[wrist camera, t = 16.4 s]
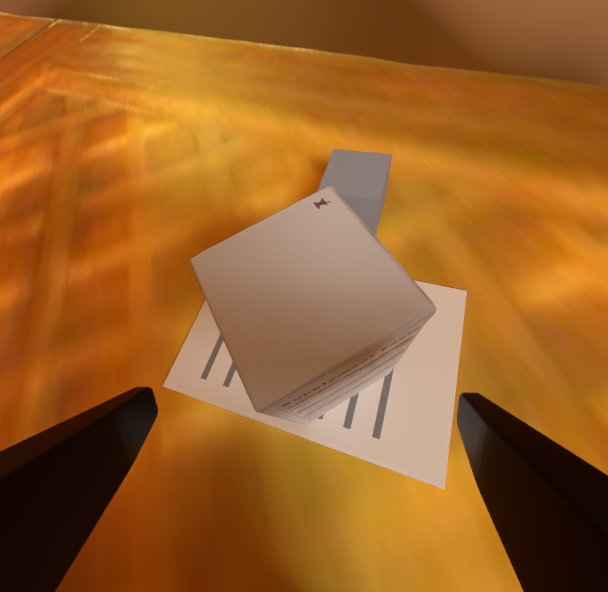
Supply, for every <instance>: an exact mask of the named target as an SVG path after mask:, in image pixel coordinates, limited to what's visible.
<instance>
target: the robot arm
mask: <svg viewBox="0 0 608 592" xmlns="http://www.w3.org/2000/svg"><path fill="white" fill-rule="evenodd" d="M157 414H158V407H157V403H156V400H155V396H154V393H153V390H152V389H151V388H150V387H136V388H133V389H131V390H129V391H127V392H125V393H123V394H121V395H119V396H116V397H114V398H112V399H110V400H108V401H106V402H104V403H102V404H100V405H97V406H95V407H93V408H91V409H89V410H87V411H85V412H83V413H81V414H78V415H76V416H74V417H72V418H70V419H68V420H66V421H64V422H62V423H59V424H57V425H55V426H53V427H51V428H49V429H47V430H45V431H43V432H40V433H38V434H36V435H34V436H32V437H30V438H28V439H26V440H24V441H21V442H19V443H17V444H15V445H13V446H11V447H9V448H7V449H5V450H2V451H0V592H55V591H56V589H57V588H58V586H59V584H60V583H61V581H62V579H63V578H64V576H65V574H66V573H67V571H68V570H69V568H70V566H71V565H72V563H73V561H74V560H75V558H76V557H77V555H78V553H79V552H80V550H81V548H82V547H83V545H84V543H85V542H86V540H87V539H88V537H89V535H90V534H91V532H92V530H93V529H94V527H95V526H96V524H97V522H98V521H99V519H100V517H101V516H102V514H103V513H104V511H105V509H106V508H107V506H108V504H109V503H110V501H111V499H112V498H113V496H114V495H115V493H116V491H117V490H118V488H119V486H120V485H121V483H122V482H123V480H124V478H125V477H126V475H127V473H128V472H129V470H130V468H131V467H132V465H133V463H134V461H135V459H136V457H137V455H138V453H139V451H140V449H141V447H142V445H143V443H144V441H145V439H146V437H147V435H148V433H149V431H150V429H151V427H152V425H153V423H154V421H155V419H156V417H157ZM457 424H458V428H459V431H460V435H461V438H462V441H463V444H464V447H465V450H466V453H467V456H468V459H469V462H470V466H471V469H472V472H473V475H474V478H475V481H476V484H477V486H478V489H479V491H480V493H481V496H482V498H483V500H484V503H485V505H486V507H487V510H488V512H489V514H490V516H491V519H492V521H493V523H494V525H495V528H496V530H497V532H498V535H499V537H500V539H501V541H502V544H503V546H504V548H505V550H506V553H507V555H508V557H509V560H510V562H511V564H512V566H513V569H514V571H515V573H516V575H517V578H518V580H519V582H520V584H521V587H522V589H523V591H524V592H608V475H606V474H605V473H603V472H602V471H600V470H598V469H597V468H595V467H594V466H592V465H591V464H589V463H587V462H586V461H584V460H583V459H581V458H579V457H578V456H576V455H575V454H573V453H572V452H570V451H568V450H567V449H565V448H564V447H562V446H561V445H559V444H557V443H556V442H554V441H553V440H551V439H550V438H548V437H546V436H545V435H543V434H542V433H540V432H539V431H537V430H535V429H534V428H532V427H531V426H529V425H528V424H526V423H524V422H523V421H521V420H520V419H518V418H517V417H515V416H513V415H512V414H510V413H509V412H507V411H506V410H504V409H502V408H501V407H499V406H498V405H496V404H495V403H493V402H491V401H490V400H488V399H487V398H485V397H484V396H482V395H480V394H479V393H461V394H460V397H459V404H458V412H457Z"/></svg>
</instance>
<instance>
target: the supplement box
mask: <svg viewBox="0 0 608 592" xmlns="http://www.w3.org/2000/svg"><path fill="white" fill-rule="evenodd" d="M190 262H191V265H192V268H193V270H194V273H195V275H196V278H197V280H198V283H199V285H200V287H201V290H202V292H203V294H204V297H205V299H206V301H207V303H208V306H209V308H210V310H211V313H212V315H213V317H214V320H215V322H216V324H217V327H218V329H219V331H220V333H221V336H222V338H223V340H224V342H225V345H226V347H227V349H228V352H229V354H230V356H231V358H232V361H233V363H234V365H235V367H236V370H237V372H238V374H239V377H240V379H241V381H242V383H243V385H244V388H245V390H246V392H247V394H248V396H249V398H250V401H251V403H252V405H253V407H254V409H255V411H256V412H259V413H263V414H266V415H270V416H274V417H277V418H281V419H284V420H289V421H292V422H296V423H300V424H304V425H308V424H309V423H311V422H312V421H314V420H315V419H317V418H318V417H320V416H322V415H323V414H325V413H327V412H328V411H330V410H331V409H333V408H335V407H336V406H338V405H340V404H341V403H343V402H345V401H346V400H348V399H349V398H351V397H353V396H354V395H356V394H358V393H359V392H361V391H362V390H364V389H366V388H367V387H369V386H370V385H372V384H374V383H375V382H377V381H378V380H380V379H382V378H383V377H385V376H386V375H388V374H389V373H390V372H391V371H392V369H393V368H394V367H395V366H396V364H397V363H398V362H399V360H400V359H401V357H402V356H403V354H404V353H405V352H406V350H407V349H408V347H409V346H410V344H411V343H412V342H413V340H414V339H415V337H416V336H417V334H418V333H419V332H420V330H421V329H422V328H423V326H424V325H425V324H426V322H427V321H428V320H429V319H430V318H431V317H432V316H433V315H434V314H435V312H436V307H435V305H434V303H433V302H432V300H431V299H430V298H429V297H428V296H427V295H426V294H425V292H424V291H423V290H422V289H421V288H420V287H419V285H418V284H417V283H416V282H415V281H414V280H413V279H412V278H411V277H410V276H409V274H408V273H407V272H406V271H405V270H404V269H403V267H402V266H401V265H400V264H399V263H398V262H397V261H396V259H395V258H394V257H393V256H392V255H391V254H390V253H389V251H388V250H387V249H386V248H385V247H384V246H383V244H382V243H381V242H380V241H379V239H378V238H377V237H376V236H375V235H374V233H373V232H372V231H371V230H370V229H369V228H368V227H367V226H366V225H365V224H364V223H363V222H362V220H361V219H360V218H359V217H358V216H357V215H356V214H355V213H354V211H353V210H352V209H351V208H350V207H349V206H348V204H347V203H346V202H345V201H344V200H343V199H342V198H341V196H340V195H339V194H338V193H337V192H336V190H335V189H334V188H333V187H332V186H328V187H326V188H324V189H322V190H320V191H318V192H316V193H314V194H311V195H309V196H308V197H306V198H304V199H302V200H300V201H298V202H296V203H294V204H292V205H290V206H288V207H286V208H284V209H282V210H281V211H279V212H277V213H275V214H273V215H271V216H269V217H267V218H265V219H263V220H262V221H260V222H258V223H256V224H254V225H252V226H250V227H248V228H246V229H244V230H242V231H240V232H238V233H237V234H235V235H233V236H231V237H229V238H227V239H225V240H223V241H221V242H219V243H218V244H216V245H214V246H211V247H210V248H208V249H206V250H204V251H202V252H201V253H199V254H197V255H196V256H194V257H192V258H191V260H190Z"/></svg>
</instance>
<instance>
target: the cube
mask: <svg viewBox="0 0 608 592" xmlns="http://www.w3.org/2000/svg"><path fill="white" fill-rule="evenodd" d="M391 157H392V155H391V154H380V153H370V152H359V151H349V150H338V149H333V152H332V154H331V157H330V159H329V162H328V165H327V167H326V170H325V173H324V175H323V178H322V180H321V183H320V186H319V188H318V191H320V190H322V189H324V188H326V187H328V186H332V187H333V188H334V189H335V190H336V192H337V193H338V194H339V195H340V196H341V198H342V199H343V200H344V201H345V202H346V203H347V204H348V206H349V207H350V208H351V209H352V210H353V211H354V213H355V214H356V215H357V216H358V217H359V218H360V219H361V220H362V222H363V223H364V224H365V225H366V226H367V227H368V228H369V229H370V230H371V231H372V232H373V233H374V235H375V236H376V232H377V228H378V224H379V220H380V216H381V213H382V209H383V205H384V201H385V197H386V190H387V184H388V177H389V170H390V164H391ZM318 191H317V192H318Z"/></svg>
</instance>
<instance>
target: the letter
mask: <svg viewBox="0 0 608 592" xmlns="http://www.w3.org/2000/svg"><path fill="white" fill-rule="evenodd" d="M414 281H415V280H414ZM415 282H416V283H417V284H418V285H419V287H420V288H421V289H422V290H423V291H424V292H425V294H426V295H427V296H428V297H429V298H430V299H431V300H432V302H433V303H434V305H435V307H436V312H435V314H434V315H433V316H432V317H431V318H430V319H429V320H428V321H427V322H426V324H425V325H424V326H423V328H422V329H421V330H420V332H419V333H418V334H417V336H416V337H415V339H414V340H413V342H412V343H411V344H410V346H409V347H408V349H407V350H406V352H405V353H404V354H403V356H402V357H401V359H400V360H399V362H398V363H397V364H396V366H395V367H394V368H393V369H392V371H391V372H390V373H389V374H388V375H386V376H385V377H383V378H382V379H380V380H378V381H377V382H375V383H374V384H372V385H370V386H369V387H367V388H366V389H364V390H362V391H361V392H359V393H358V394H356V395H354V396H353V397H351V398H349V399H348V400H346V401H345V402H343V403H341V404H340V405H338V406H336V407H335V408H333V409H331V410H330V411H328V412H327V413H325V414H323V415H322V416H320V417H318V418H317V419H315V420H314V421H312V422H311V423H309V424H308V425H304V424H300V423H296V422H292V421H289V420H284V419H281V418H277V417H274V416H270V415H266V414H263V413H259V412H256V411H255V409H254V407H253V405H252V403H251V401H250V398H249V396H248V394H247V392H246V390H245V388H244V385H243V383H242V381H241V379H240V377H239V374H238V372H237V370H236V367H235V365H234V363H233V361H232V358H231V356H230V354H229V352H228V349H227V347H226V345H225V342H224V340H223V338H222V336H221V333H220V331H219V329H218V327H217V324H216V322H215V320H214V317H213V315H212V313H211V310H210V308H209V306H208V303H207V301H206V299H205V301H204V303H203V306H202V308H201V310H200V312H199V314H198V316H197V318H196V320H195V322H194V324H193V326H192V328H191V330H190V332H189V334H188V336H187V338H186V340H185V342H184V344H183V346H182V348H181V350H180V352H179V354H178V356H177V358H176V360H175V362H174V364H173V366H172V368H171V370H170V372H169V374H168V376H167V378H166V380H165V382H164V384H163V387H166V388H168V389H171V390H174V391H176V392H179V393H182V394H185V395H187V396H190V397H193V398H196V399H198V400H201V401H204V402H207V403H209V404H212V405H215V406H218V407H220V408H223V409H226V410H228V411H231V412H234V413H237V414H239V415H242V416H245V417H248V418H250V419H253V420H256V421H259V422H261V423H264V424H267V425H269V426H272V427H275V428H278V429H280V430H283V431H286V432H289V433H291V434H294V435H297V436H300V437H302V438H305V439H308V440H311V441H313V442H316V443H319V444H321V445H324V446H327V447H330V448H332V449H335V450H338V451H341V452H343V453H346V454H349V455H352V456H354V457H357V458H360V459H362V460H365V461H368V462H371V463H373V464H376V465H379V466H382V467H384V468H387V469H390V470H393V471H395V472H398V473H401V474H403V475H406V476H409V477H412V478H414V479H417V480H420V481H423V482H425V483H428V484H431V485H434V486H436V487H439V488H442V489H445V480H446V471H447V462H448V454H449V445H450V436H451V427H452V418H453V409H454V400H455V391H456V383H457V374H458V365H459V356H460V347H461V338H462V329H463V320H464V312H465V303H466V294H467V291H464V290H459V289H454V288H450V287H445V286H440V285H435V284H430V283H425V282H420V281H415Z"/></svg>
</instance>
